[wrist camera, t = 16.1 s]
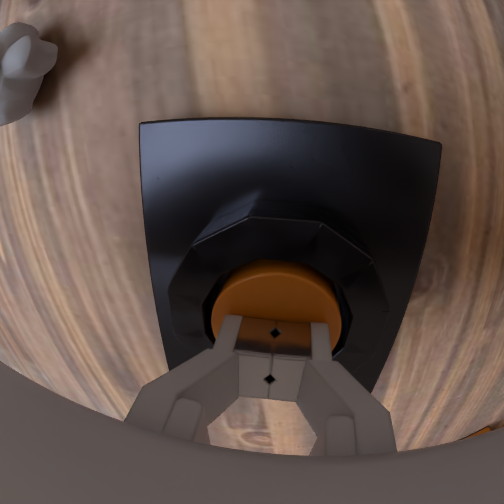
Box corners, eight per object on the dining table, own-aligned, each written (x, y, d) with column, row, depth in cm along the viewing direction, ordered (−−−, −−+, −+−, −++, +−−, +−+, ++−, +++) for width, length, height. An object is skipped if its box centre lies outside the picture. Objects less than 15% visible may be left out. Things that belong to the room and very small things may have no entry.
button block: (164, 121, 10) (107, 123, 7) (417, 139, 9) (472, 148, 6) (184, 353, 15) (158, 407, 12) (362, 371, 14) (371, 430, 11)
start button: (221, 242, 9) (206, 266, 8) (345, 252, 9) (354, 279, 7) (224, 336, 11) (213, 367, 10) (325, 346, 11) (328, 379, 9)
